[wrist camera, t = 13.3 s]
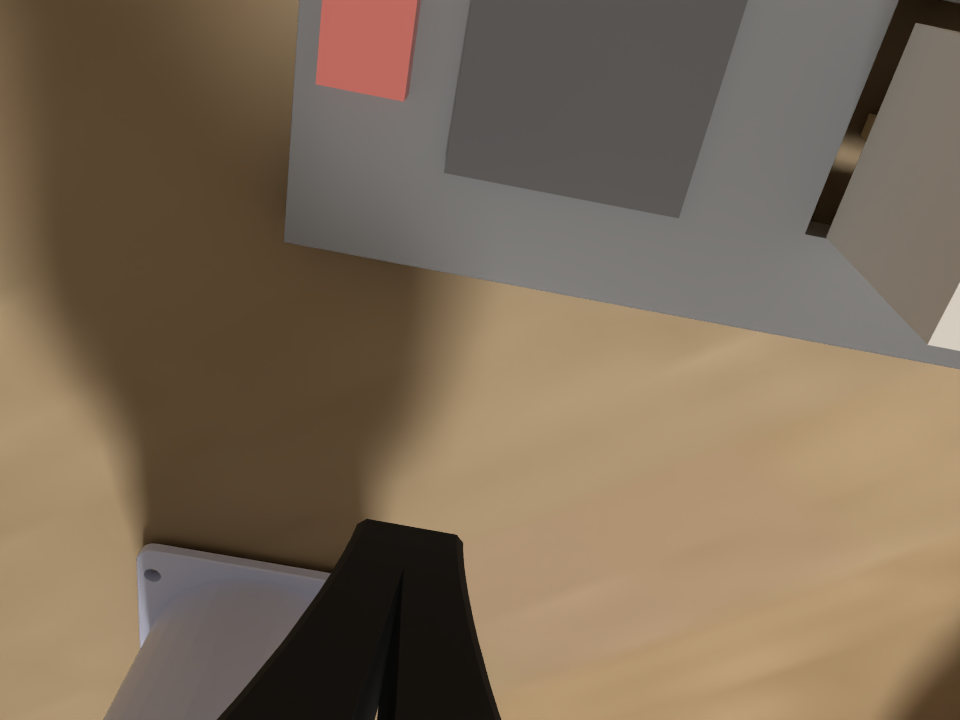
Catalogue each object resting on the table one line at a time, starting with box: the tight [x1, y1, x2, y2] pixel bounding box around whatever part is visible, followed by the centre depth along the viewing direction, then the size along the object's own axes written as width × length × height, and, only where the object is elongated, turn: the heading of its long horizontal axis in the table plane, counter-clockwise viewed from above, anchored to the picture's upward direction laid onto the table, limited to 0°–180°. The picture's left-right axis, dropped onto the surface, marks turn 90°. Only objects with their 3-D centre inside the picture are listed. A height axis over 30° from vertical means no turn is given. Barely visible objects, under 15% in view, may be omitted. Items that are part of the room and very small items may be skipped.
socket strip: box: [284, 0, 960, 369], centre depth 17 cm, size 10×20×2 cm, turn 80°
